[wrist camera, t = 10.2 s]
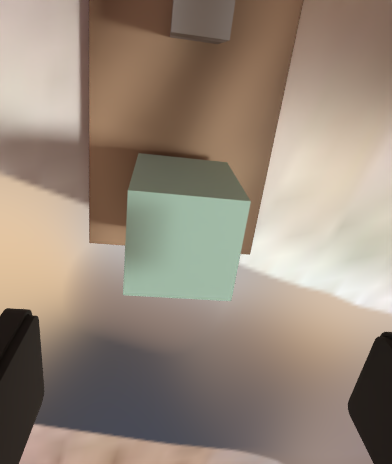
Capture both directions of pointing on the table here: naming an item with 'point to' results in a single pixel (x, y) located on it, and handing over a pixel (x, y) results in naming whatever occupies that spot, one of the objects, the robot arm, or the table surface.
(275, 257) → the table surface
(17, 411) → the robot arm
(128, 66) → the walnut board
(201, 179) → the mint green cube
